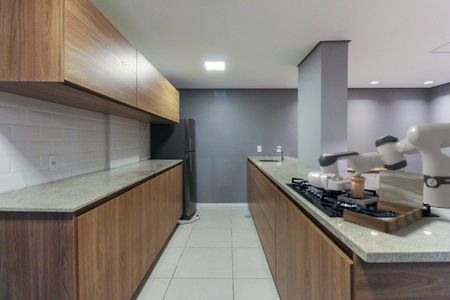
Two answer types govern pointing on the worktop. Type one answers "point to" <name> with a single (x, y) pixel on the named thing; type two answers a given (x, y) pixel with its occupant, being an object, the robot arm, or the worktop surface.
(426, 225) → the worktop surface
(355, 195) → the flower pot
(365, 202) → the slate tray
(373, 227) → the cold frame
